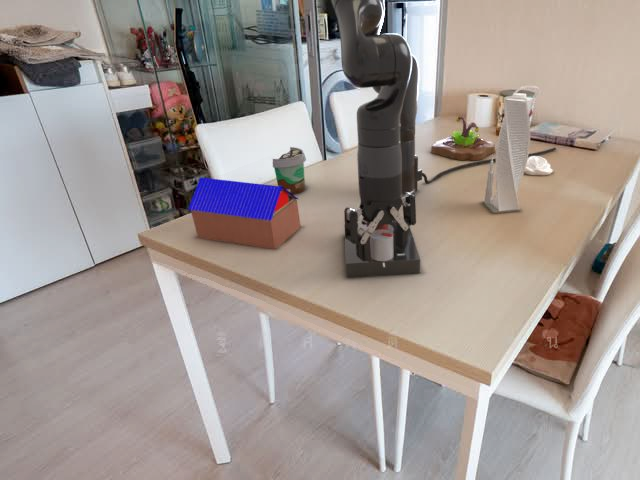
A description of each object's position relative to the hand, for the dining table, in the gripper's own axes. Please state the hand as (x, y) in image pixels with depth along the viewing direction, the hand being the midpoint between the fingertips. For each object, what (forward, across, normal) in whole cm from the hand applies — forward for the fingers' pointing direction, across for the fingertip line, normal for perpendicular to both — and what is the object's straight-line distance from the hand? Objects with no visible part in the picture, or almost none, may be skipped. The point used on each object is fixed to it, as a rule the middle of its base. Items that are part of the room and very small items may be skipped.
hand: (382, 253), depth 87 cm
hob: (+4, -3, -5) cm, 7 cm away
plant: (+4, -68, -51) cm, 85 cm away
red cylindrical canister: (0, -6, -10) cm, 12 cm away
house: (+4, +14, -32) cm, 35 cm away
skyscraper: (+4, -42, -8) cm, 43 cm away
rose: (+4, -71, -22) cm, 75 cm away
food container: (+4, -6, -50) cm, 51 cm away
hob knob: (+1, 0, 0) cm, 1 cm away
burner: (+1, -6, -10) cm, 12 cm away
